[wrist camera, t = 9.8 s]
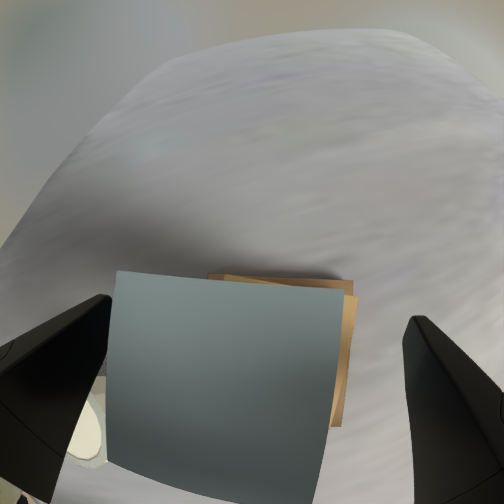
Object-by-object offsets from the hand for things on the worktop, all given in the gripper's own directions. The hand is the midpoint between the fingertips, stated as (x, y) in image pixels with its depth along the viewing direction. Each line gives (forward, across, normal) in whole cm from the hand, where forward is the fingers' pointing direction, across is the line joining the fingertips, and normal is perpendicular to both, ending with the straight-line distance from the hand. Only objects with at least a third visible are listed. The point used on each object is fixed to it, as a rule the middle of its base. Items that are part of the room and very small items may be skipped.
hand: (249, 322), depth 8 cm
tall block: (+5, 0, +7) cm, 9 cm away
